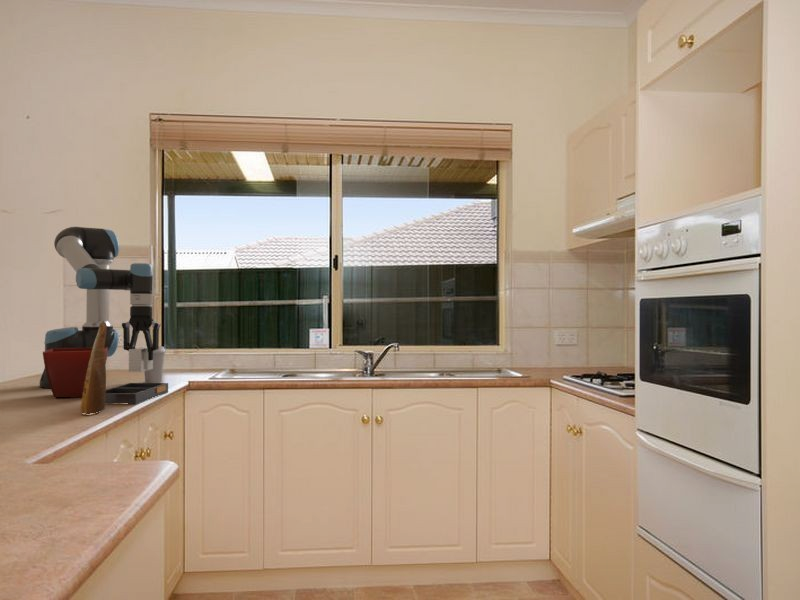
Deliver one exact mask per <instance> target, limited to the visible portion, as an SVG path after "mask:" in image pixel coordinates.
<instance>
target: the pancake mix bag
mask: <svg viewBox="0 0 800 600" xmlns="http://www.w3.org/2000/svg"><path fill="white" fill-rule="evenodd" d="M106 332H107V328H106V323H105V322H104V321H102V323H100V327H99V330H98V333H97V336H96V339H95V342H94V345H93V348H92V352H91V356H90V360H89V364H88V369H87V373H86V378H85V383H84V389H83V395H82V397H81V402H80V403H81V404H80V412H81V413H86V414H90V413H96V412H99V411H101V410H102V409H103V408H104V407H106V404H105V396H106V389H107V370H106V369H107V367H106V365H105V351H104V345H105V339H106ZM104 409H105V408H104ZM104 409H103V410H104ZM103 410H102V411H103ZM102 411H101V412H102ZM81 413H80V414H81Z"/></svg>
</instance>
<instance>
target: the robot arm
mask: <svg viewBox="0 0 800 600" xmlns="http://www.w3.org/2000/svg"><path fill="white" fill-rule="evenodd" d="M53 244H54V249H55V250H56V252H57V254H58V255H59V256H61V257H62V258H64V259H66V261H67V262H68V263H69V265H70V266H71V267H72V269H73V270H74V272H75V283H76V286H77V288H79V289H83V290H86V315H85V316H86V317H85V318H86V319H85V323H84V324H82V325H81V326H82V327H81V330H79V328H78V327H77V326H72V327H71V326H70V327H61V328H56V329H50V330H47V331H46V333H45V337H44V351H47V350H50V349H60V348H93V345H94V342H95V339H96V336H97V333H98V330H99V327H100V323H102V321H104V322H105V323H106V328H107V332H106V339H105V345H104V347H108V354H107V358H109V357H112V356H113V355H114V354H116V351H117V349H118V345H119V333H118V331H117V330H116V329H114V325H113V324H112V323H111V322H110V290H113V291H114V290H115V291H119V290H120V291H129V293H130V294H129V296H130V297H129V298H130V299H129V305H131V306H130V307H129V316H130V318H129V320H128V321H127V322H122V323H121V327H122V329H123V332H122V333H123V343H122V344H123V350H124V351H127V352H129V349H134V348H136V347H137V346H136V345H137V341H138V337H139V333H140V332H142V333H143V336H144V340H145V344H146V345H145V346H146V347H147V349H148V350H147V351H148V352H146V370H149V369H151V360H153V351H154V350H157V349H158V348H159V346H160V345H159V343H160V340H159V339H160V332H159V331H160V327H161V323H160V322H156V321H154V319H153V306H152V305H153V278H154V277H153V276H154V274H153V265H152V264H150V263H142V262H141V263H140V262H139V263H138V262H137V263H131V264H130V265H129V266H130V268H129V269H111V267H110V265H111V264H113V262H114V261H115V260H114V259H115V258H117V257H118V255H119V251H120V242H119V238H118V235H117V234H116V232H114V231H113V229H112V230H111V229H106V228H99V227H98V228H96V227H82V226H70V227H66V228H64V229H62V230H61V231H59V233H58V234H57V235H56V236H55V239H54V242H53ZM151 326H152V335H151V329H150V328H151ZM130 327H132V329H130ZM130 330H132V331H130ZM130 332H131V335H130ZM41 387H44V389H51V388H50V384H49V381H48V378H47V374H46V370H45V367H44V368H43V372H42V375H41V376H40V379H39V388H41Z"/></svg>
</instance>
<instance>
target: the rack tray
mask: <svg viewBox="0 0 800 600" xmlns="http://www.w3.org/2000/svg"><path fill="white" fill-rule="evenodd" d="M167 393H169V382H161V383H145V382H127V383H123V384H121V385H118V386H117V385H116V386H113V387H110V388H106V396H105V403H128V404H127V405H138V404H140V403H139V402H141V403H143V402H146V401H148V400H147V399H149V400H151V399H150V398H152V397H154V398H156V397H155V396H157V397H159V396H158V395H160V396H162V395H165V394H167ZM152 399H153V398H152ZM145 400H146V401H145ZM142 401H143V402H142ZM137 403H138V404H137Z"/></svg>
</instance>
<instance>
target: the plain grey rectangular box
mask: <svg viewBox="0 0 800 600" xmlns="http://www.w3.org/2000/svg"><path fill="white" fill-rule="evenodd" d="M147 350H148V349H147V346H144V347H135V348H134V349H129V351H128V373H129V372H132V373H134V372H135V373H136V372H137V373H139V372H140V373H141V372H144V371H146V352H148V351H147ZM151 369H153V360H151ZM149 370H150V369H149Z"/></svg>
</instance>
